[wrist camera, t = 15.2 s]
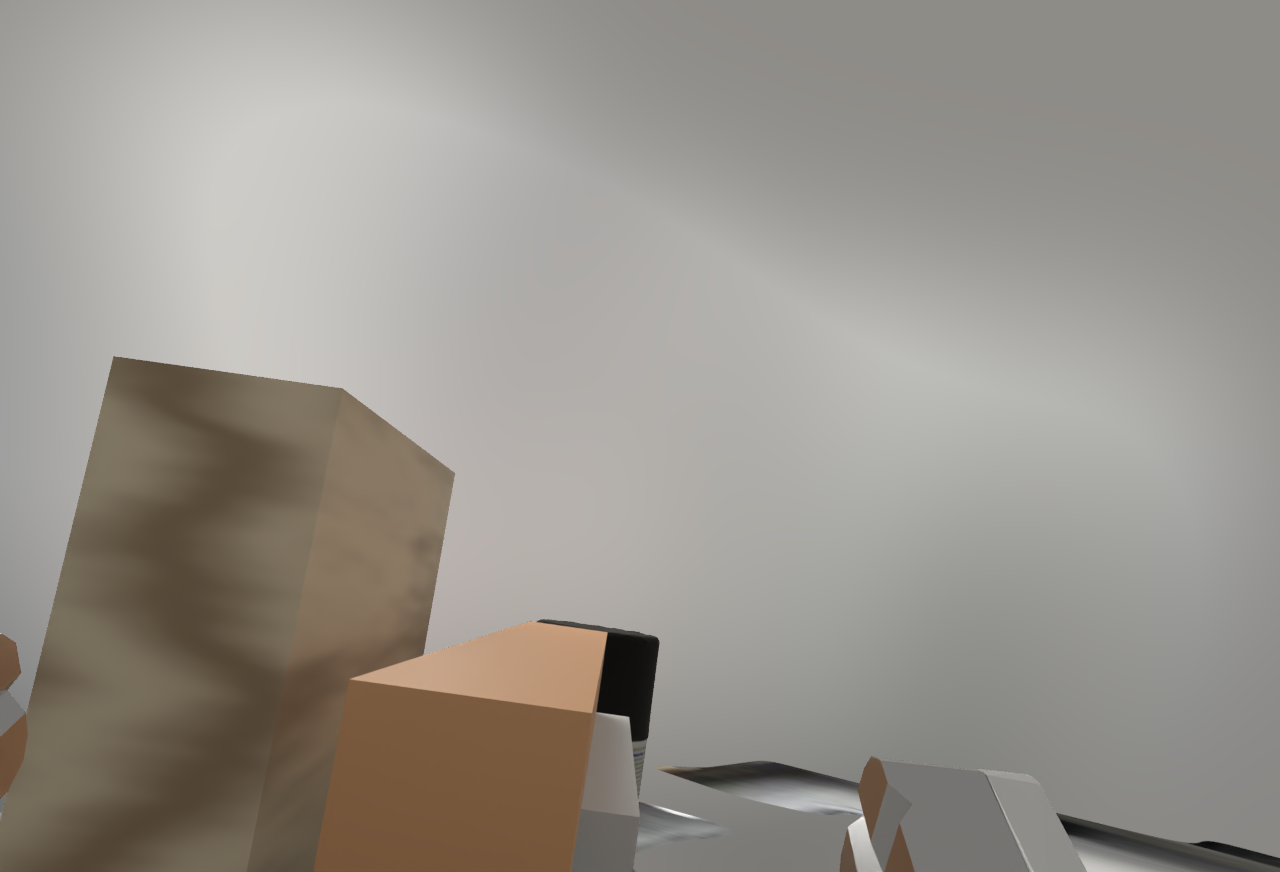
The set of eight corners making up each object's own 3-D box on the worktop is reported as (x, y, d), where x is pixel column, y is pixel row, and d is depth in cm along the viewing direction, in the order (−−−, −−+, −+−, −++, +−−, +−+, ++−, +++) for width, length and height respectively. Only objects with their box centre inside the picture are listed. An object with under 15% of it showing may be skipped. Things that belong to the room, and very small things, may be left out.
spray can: (531, 1003, 49) (587, 622, 52) (632, 1056, 45) (685, 638, 48) (435, 1040, 44) (504, 614, 47) (539, 1104, 40) (606, 632, 43)
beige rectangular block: (-175, 1537, 20) (113, 356, 24) (190, 1101, 36) (320, 454, 41) (106, 1576, 20) (342, 388, 24) (341, 1122, 36) (454, 473, 41)
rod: (300, 940, 11) (348, 679, 12) (517, 701, 37) (529, 621, 38) (554, 977, 11) (591, 713, 12) (596, 712, 37) (607, 632, 38)
